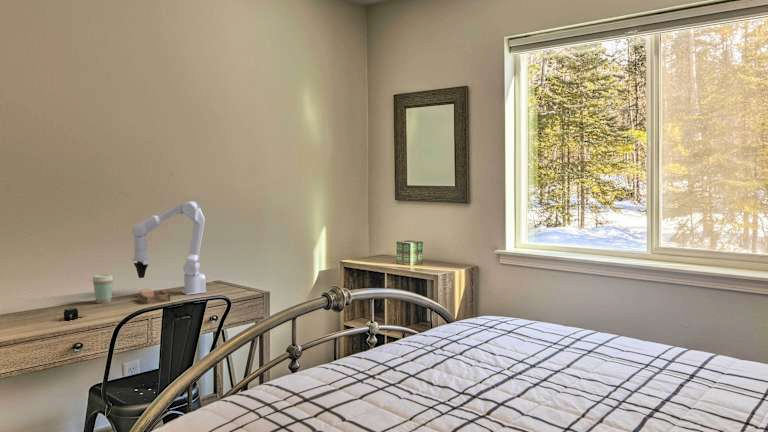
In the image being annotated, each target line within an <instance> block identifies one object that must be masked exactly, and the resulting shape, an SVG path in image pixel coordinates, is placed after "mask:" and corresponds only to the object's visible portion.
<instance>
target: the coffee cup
mask: <svg viewBox="0 0 768 432" xmlns="http://www.w3.org/2000/svg"><path fill="white" fill-rule="evenodd" d="M91 280H92V283H93V291H94V295H95V302H96V304H99V305H101V304H104V305H105V304H109V303H112V293H113V292H112V291H113V284H114V283H113V282H114V277H113V275H112V274H108V273H107V274H105V273H103V274H96V275H94V276H93V278H92V279H91Z"/></svg>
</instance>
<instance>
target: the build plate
mask: <svg viewBox="0 0 768 432" xmlns="http://www.w3.org/2000/svg"><path fill="white" fill-rule="evenodd" d="M82 317H83V318H86V317H85V316H84V315H79V310H78V307H69V308H65V309H64V311H63V318H62V319H58V320H57V322H61V321H69V322H71V321H70V320H73V321H75V320H74V319H76V320H79V319H78V318H80V319H83V318H82Z"/></svg>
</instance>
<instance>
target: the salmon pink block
mask: <svg viewBox="0 0 768 432" xmlns="http://www.w3.org/2000/svg"><path fill="white" fill-rule="evenodd" d="M138 293H141V294H142V295H144V296H146V297H150V296H155V291H154V290H153V289H150V288H148V289H147V288H146V289H139V290H138Z"/></svg>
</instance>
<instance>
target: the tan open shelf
mask: <svg viewBox="0 0 768 432" xmlns="http://www.w3.org/2000/svg"><path fill="white" fill-rule="evenodd" d="M137 301H139V302H140V303H142V304H144V305H149V304H151V305H152V304H156V303H157V304H159V303H164V302H165V303H166V302H171V294H170V293H169V292H166V291H164V290H159V294H157V295H154V296H150V297H146V296H144V295H142V294H141V293H139V292H138V293H137Z"/></svg>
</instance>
